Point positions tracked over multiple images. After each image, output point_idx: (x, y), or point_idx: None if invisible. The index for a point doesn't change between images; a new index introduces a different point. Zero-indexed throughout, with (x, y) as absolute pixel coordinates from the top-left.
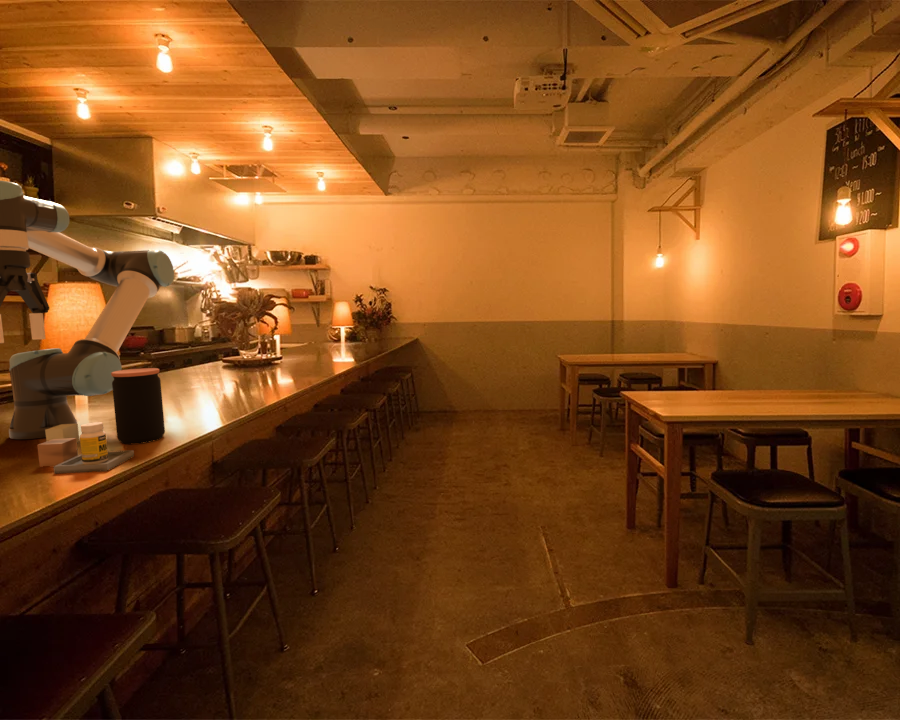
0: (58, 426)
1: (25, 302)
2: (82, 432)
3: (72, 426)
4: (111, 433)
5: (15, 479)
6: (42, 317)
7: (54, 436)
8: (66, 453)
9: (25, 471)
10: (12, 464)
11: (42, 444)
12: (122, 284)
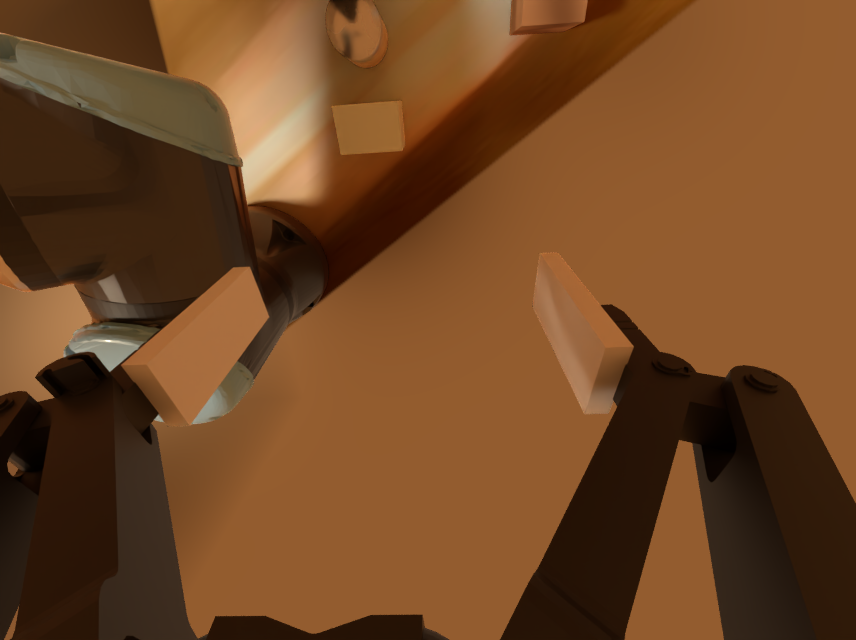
0: (365, 142)
1: (168, 504)
2: (378, 49)
3: (355, 104)
4: (247, 72)
5: (660, 11)
6: (155, 341)
7: (401, 126)
8: None
9: (594, 41)
10: (521, 130)
11: (585, 5)
12: None
